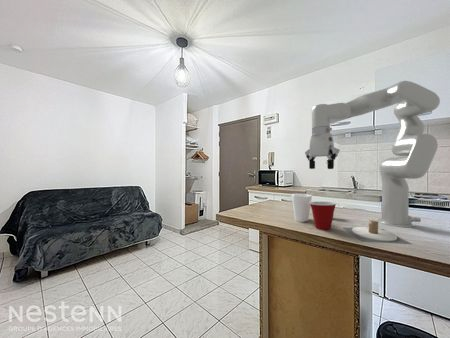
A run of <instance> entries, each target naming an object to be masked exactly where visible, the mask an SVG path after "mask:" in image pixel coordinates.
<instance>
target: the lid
mask: <svg viewBox="0 0 450 338" xmlns="http://www.w3.org/2000/svg"><path fill="white" fill-rule="evenodd" d="M352 228H353V229H352V232H353V233H354V234H355V235H357V236H360V237H363V238H366V239H371V240H376V241H387V242H389V241H396V240H397V236H398V235H396V234H395V233H393V232H390V231H388V230H386V229H384V230H381V229H382V228H379V222H378V220H371V219H369V220H368V226H367V227H366V226H357V227H356V226H355V227H352ZM385 230H386V231H385Z"/></svg>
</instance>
